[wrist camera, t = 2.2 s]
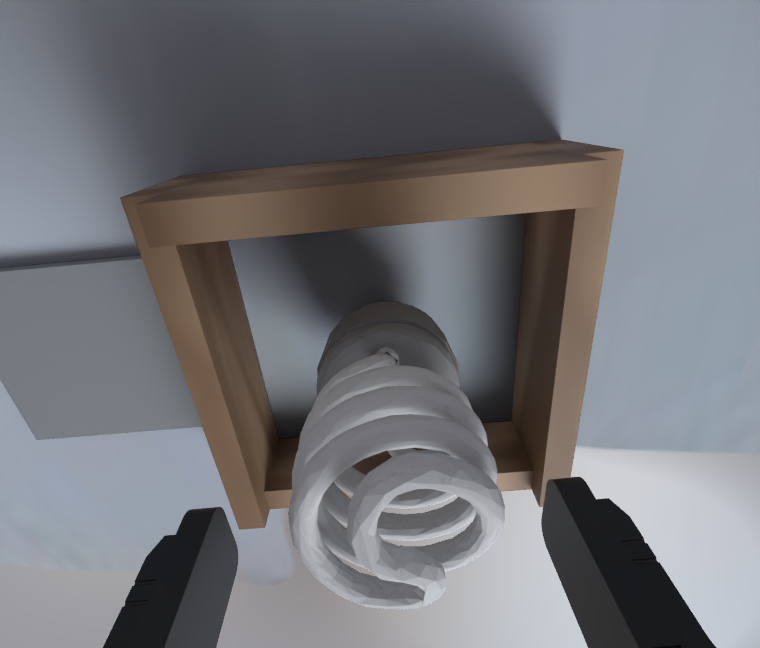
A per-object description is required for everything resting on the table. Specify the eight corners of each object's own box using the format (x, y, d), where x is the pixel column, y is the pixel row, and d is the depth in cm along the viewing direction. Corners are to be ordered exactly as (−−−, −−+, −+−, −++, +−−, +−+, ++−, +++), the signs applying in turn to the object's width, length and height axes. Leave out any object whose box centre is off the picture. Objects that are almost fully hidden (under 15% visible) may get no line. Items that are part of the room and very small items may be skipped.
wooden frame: (561, 139, 16) (654, 155, 11) (532, 436, 23) (580, 534, 18) (180, 176, 17) (90, 208, 11) (261, 457, 24) (229, 560, 18)
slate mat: (155, 253, 18) (148, 258, 18) (212, 418, 22) (207, 426, 22) (-49, 272, 18) (-62, 277, 18) (44, 432, 22) (36, 439, 22)
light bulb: (451, 365, 21) (534, 633, 10) (341, 386, 21) (312, 663, 11) (434, 259, 18) (521, 467, 8) (310, 284, 19) (231, 515, 8)
